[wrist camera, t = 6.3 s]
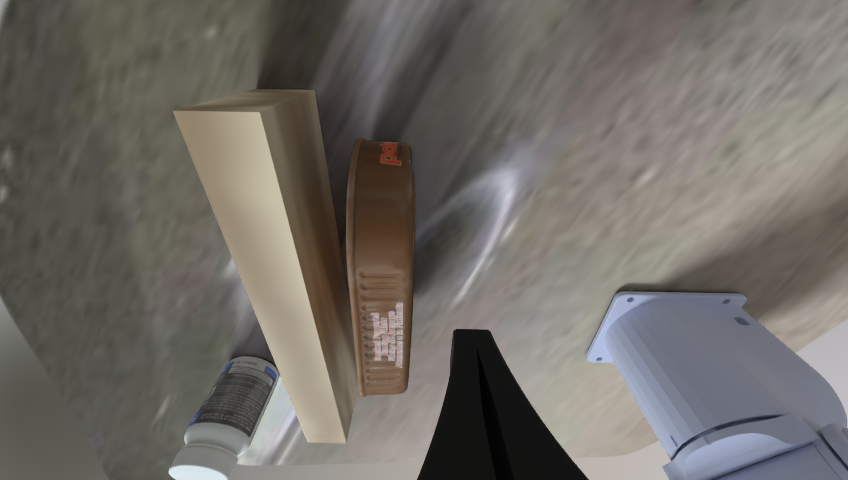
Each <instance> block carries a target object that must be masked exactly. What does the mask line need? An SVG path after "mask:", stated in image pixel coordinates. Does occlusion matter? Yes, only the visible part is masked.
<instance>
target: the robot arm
mask: <svg viewBox="0 0 848 480" xmlns="http://www.w3.org/2000/svg"><path fill="white" fill-rule="evenodd" d="M746 301H747V298H746V297H745V296H744V295H742V294H735V293H683V292H631V291H622V292H619V293H617V294H616V295H615V297H614V299H613V301H612V303H611V305H610V307H609V309H608V311H607V313H606V315H605V317H604V319H603V321H602V324H601V326H600V328H599V330H598V332H597V334H596V336H595V338H594V340H593V342H592V344H591V346H590V348H589V350H588V352H587V354H586V359H587V360H588V362H594V363H614V364H615V365H616V367H617V369H618V371H619V372H620V374H621V376H622V377H623V379H624V381H625V383H626V384H627V386H628V388H629V389H630V391H631V393H632V395H633V396H634V398H635V400H636V402H637V403H638V405H639V407H640V408H641V410H642V412H643V414H644V415H645V417H646V419H647V420H648V422H649V424H650V426H651V427H652V429H653V431H654V432H655V434H656V436H657V438H658V439H659V441H660V443H661V444H662V446H663V448H664V450H665V451H666V453H667V455H668V456H669V458H670V460H671V462H670V463H668V464H666V465H664V466H663V467H662V468H663V469H664V472H665V473H666V475H667V477H668V479H669V480H848V428H847V418H846V413H845V410H844V408H843V405H842V403H841V401H840V399H839V397H838V396H837V394H836V393H835V391H834V390H833V388H832V387H831V386H830V384H829V383H828V382H827V381H826V380H825V379H824V378H823V377H822V376H821V375H820V374H819V373H818V372H817V371H816V370H814V369H813V368H812V367H811V366H810V365H809V364H807V363H806V362H805V361H804V360H803V359H802V358H800V357H799V356H798V355H797V354H796V353H794V352H793V351H792V350H791V349H790V348H788V347H787V346H786V345H785V344H784V343H783V342H781V341H780V340H779V339H778V338H777V337H775V336H774V335H773V334H772V333H771V332H769V331H768V330H767V329H766V328H765V327H764V326H762V325H761V324H760V323H759V322H758V321H756V320H755V319H754V318H753V317H752V316H751V315H749V314H748V313H747V312H746V311H745V310H743V309H742V308H741V307H742V306H743V305H744V304H745V303H746ZM417 480H589V479H588V478H587V477H586V476H585V475H584V473H583V472H582V471H581V470H580V469H579V468H578V466H577V465H576V464H575V463H574V462H573V461H572V459H571V458H570V457H569V456H568V454H567V453H566V452H565V451H564V449H563V448H562V447H561V445H560V444H559V443H558V442H557V440H556V439H555V438H554V436H553V435H552V434H551V432H550V431H549V430H548V428H547V427H546V426H545V424H544V423H543V421H542V420H541V419H540V417H539V416H538V414H537V413H536V411H535V410H534V408H533V407H532V405H531V404H530V402H529V401H528V399H527V398H526V396H525V394H524V393H523V391H522V390H521V388H520V386H519V385H518V383H517V381H516V380H515V378H514V376H513V375H512V373H511V371H510V369H509V368H508V366H507V364H506V362H505V360H504V359H503V357H502V355H501V353H500V351H499V349H498V347H497V345H496V343H495V341H494V338H493V336H492V334H491V332H490V331H489V330H477V329H456V330H454V331H453V339H452V348H451V358H450V377H449V382H448V386H447V390H446V394H445V398H444V402H443V406H442V410H441V413H440V416H439V420H438V423H437V426H436V429H435V432H434V435H433V438H432V441H431V444H430V447H429V450H428V453H427V455H426V458H425V461H424V464H423V466H422V469H421V471H420V474H419V476H418V479H417Z"/></svg>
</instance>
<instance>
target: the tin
mask: <svg viewBox="0 0 848 480" xmlns="http://www.w3.org/2000/svg"><path fill="white" fill-rule="evenodd" d="M411 165H412V150H411V147H410V146H409V145H407V144H405V143H399V142H378V141H365V140H364V139H363V138H359V139H357V140H356V142H355V145H354V148H353V152H352V156H351V163H350V169H349V177H348V187H347V206H346V251H347V254H346V258H347V272H348V285H349V295H350V305H351V316H352V325H353V334H354V345H355V357H356V367H357V378H358V389H359V394H360V396H361V397H365V396H366V395H388V394H401V393H404V392H405V391H406V390H407V387H408V378H409V364H410V348H411V334H412V314H413V285H414V260H415V184H414V175H413V170H412V166H411Z"/></svg>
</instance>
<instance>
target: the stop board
mask: <svg viewBox="0 0 848 480" xmlns="http://www.w3.org/2000/svg"><path fill="white" fill-rule="evenodd" d="M173 113H174V115H175V118H176V120H177V123H178V125H179V127H180V130H181V132H182V135H183V137H184V140H185V142H186V145H187V147H188V150H189V152H190V155H191V157H192V159H193V162H194V164H195V167H196V169H197V172H198V174H199V177H200V179H201V182H202V184H203V186H204V189H205V191H206V194H207V196H208V199H209V201H210V204H211V206H212V209H213V211H214V214H215V216H216V218H217V221H218V223H219V226H220V228H221V231H222V233H223V236H224V238H225V241H226V243H227V245H228V248H229V250H230V253H231V255H232V258H233V260H234V263H235V265H236V268H237V270H238V272H239V275H240V277H241V280H242V282H243V285H244V287H245V290H246V292H247V295H248V297H249V300H250V302H251V304H252V307H253V309H254V312H255V314H256V317H257V319H258V322H259V324H260V327H261V329H262V331H263V334H264V336H265V339H266V341H267V344H268V346H269V349H270V351H271V354H272V356H273V359H274V361H275V363H276V366H277V368H278V371H279V373H280V376H281V378H282V381H283V383H284V386H285V388H286V390H287V393H288V395H289V398H290V400H291V403H292V405H293V408H294V410H295V413H296V415H297V417H298V420H299V422H300V425H301V427H302V430H303V432H304V435H305V437H306V440H307V442H312V443H346V442H347V437H348V433H349V428H350V423H351V418H352V413H353V408H354V403H355V398H356V394H357V389H358V378H357V367H356V357H355V345H354V334H353V325H352V316H351V310H350V304H349V297H348V291H347V285H346V279H345V273H344V267H343V261H342V255H341V248H340V242H339V236H338V230H337V224H336V218H335V212H334V206H333V200H332V193H331V187H330V181H329V175H328V169H327V163H326V157H325V151H324V144H323V138H322V132H321V126H320V120H319V114H318V108H317V102H316V95H315V90H290V89H253V90H250V91H246V92H242V93H238V94H234V95H231V96H227V97H223V98H219V99H215V100H211V101H208V102H204V103H200V104H196V105H192V106H189V107H185V108H181V109H177V110H173Z"/></svg>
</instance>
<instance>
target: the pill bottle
mask: <svg viewBox="0 0 848 480" xmlns="http://www.w3.org/2000/svg"><path fill="white" fill-rule="evenodd" d="M278 379H279V373H278V371H277V369H276V367H275V366H274V365H272V364H271V363H270V362H268V361H266V360H264V359H261V358H257V357H250V356H241V357H237V358H234V359H233V360H231V361H230V362H229V363H228V364H227V366H226V367H225V369H224V371H223V372H222V374H221V375H220V377H219V379H218V380H217V382H216V384H215V385H214V386H213V388H212V390H211V392H210V393H209V395H208V397H207V398H206V400H205V401H204V403H203V405H202V406H201V408H200V410H199V411H198V413H197V414H196V416H195V417H194V419H193V420H192V422H191V424H190V425H189V427H188V428H187V431H186V433H185V437H184V439H185V443H186V445H185V446H183V447H182V448H181V450H180V451H179V452H178V454H177V456H176V458H175V460H174V461H173V463H172V465H171V467H170V468H169V474H170V476H172V477H173V478H174V479H176V480H229V478H230V476H231V474H232V472H233V470H234V468H235V465H236V462H237V460H238V458H237V456H240V455H241V454H243V453H244V452H245V451H246V450H247V449H248V447H249V446H250V444H251V442H252V439H253V437H254V435H255V432H256V430H257V427H258V425H259V423H260V421H261V418H262V416H263V414H264V411H265V409H266V407H267V405H268V402H269V400H270V398H271V396H272V394H273V391H274V389H275V387H276V384H277V382H278Z"/></svg>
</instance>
